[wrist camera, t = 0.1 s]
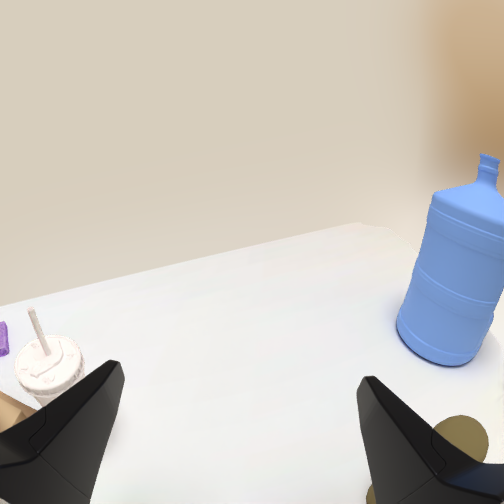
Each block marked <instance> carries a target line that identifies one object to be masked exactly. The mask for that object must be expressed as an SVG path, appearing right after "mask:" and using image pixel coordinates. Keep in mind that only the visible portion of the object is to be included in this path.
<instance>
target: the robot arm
mask: <svg viewBox="0 0 504 504" xmlns="http://www.w3.org/2000/svg"><path fill="white" fill-rule="evenodd" d="M124 381H125V377H124V373H123V370H122V367H121V364H120V362H118V361H115V360H108V361H107V362H105V363H104V364H102V365H101V366H100V367H98V368H97V369H95V370H94V371H93V372H91V373H90V374H89V375H87V376H86V377H84V378H83V379H82V380H80V381H79V382H77V383H76V384H75V385H73V386H72V387H70V388H69V389H68V390H66V391H65V392H63V393H62V394H61V395H59V396H58V397H57V398H55V399H54V400H52V401H51V402H50V403H48V404H47V405H46V406H44V407H42V408H41V409H40V410H38V411H37V412H35V413H34V414H32V415H31V416H29V417H28V418H26V419H24V420H22V421H21V422H19V423H17V424H15V425H13V426H12V427H10V428H8V429H6V430H4V431H2V432H0V504H90V499H91V496H92V492H93V489H94V485H95V481H96V478H97V474H98V471H99V468H100V464H101V461H102V458H103V455H104V452H105V448H106V445H107V442H108V439H109V436H110V433H111V430H112V427H113V424H114V421H115V418H116V415H117V411H118V407H119V403H120V398H121V394H122V390H123V385H124ZM357 403H358V411H359V420H360V428H361V433H362V437H363V442H364V446H365V451H366V455H367V460H368V465H369V469H370V474H371V479H372V485H373V490H374V495H375V501H376V504H504V464H488V463H482V462H479V461H477V460H475V459H473V458H472V457H471V456H469V455H468V454H466V453H465V452H463V451H462V450H460V449H459V448H457V447H456V446H455V445H453V444H452V443H451V442H449V441H448V440H447V439H445V438H444V437H443V436H442V435H441V434H439V433H438V432H437V431H436V430H435V429H432V427H431V426H430V425H429V424H428V423H427V422H426V421H424V420H423V419H422V418H421V417H420V416H419V415H418V414H417V413H415V412H414V411H413V410H412V409H411V408H410V407H409V406H408V405H406V404H405V403H404V402H403V401H402V400H401V399H400V398H399V397H397V396H396V395H395V394H394V393H393V392H392V391H391V390H390V389H389V388H387V387H386V386H385V385H384V384H383V383H382V382H381V381H380V380H378V379H377V378H376V377H375V376H365V377H364V378H363V379H362V381H361V383H360V385H359V387H358V389H357Z"/></svg>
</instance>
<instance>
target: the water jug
mask: <svg viewBox="0 0 504 504" xmlns="http://www.w3.org/2000/svg"><path fill="white" fill-rule="evenodd" d="M480 158H481V159H480V164H479V166H478V177H477V180H476V181H475V182H474V183H472V184H468V185H464V186H459V187H455V188H450V189H446V190H441V191H437V192H435V193H434V194H433V197H432V202H431V204H430V207H429V211H428V216H427V225H426V229H425V233H424V237H423V241H422V245H421V248H420V252H419V255H418V258H417V260H416V262H415V266H414V269H413V273H412V279H411V282H410V285H409V288H408V291H407V294H406V297H405V300H404V302H403V304H402V306H401V308H400V311H399V313H398V316H397V328H398V331H399V334H400V336H401V337H402V339H403V340H404V342H405V343H406V344H407V345H408V346H409V347H410V348H411V349H412V350H413V351H414V352H416V353H417V354H418V355H420V356H422V357H423V358H425V359H427V360H429V361H432V362H434V363H438V364H442V365H448V366H455V365H461V364H464V363H467V362H469V361H470V360H471V359H473V358H474V356H475V355H476V354H477V352H478V350H479V348H480V346H481V344H482V341H483V339H484V337H485V335H486V334H487V332H488V330H489V328H490V326H491V324H492V321H493V317H494V313H493V312H494V310H495V307H496V305H497V303H498V301H499V298H500V296H501V294H502V291H503V288H504V199H503V198H502V196H501V195H500V194H499V193H498V192H497V189H496V181H497V176H498V164H499V163H500V160H499V159H497V158H494V157H491V156H489V155H485V154H480Z"/></svg>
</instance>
